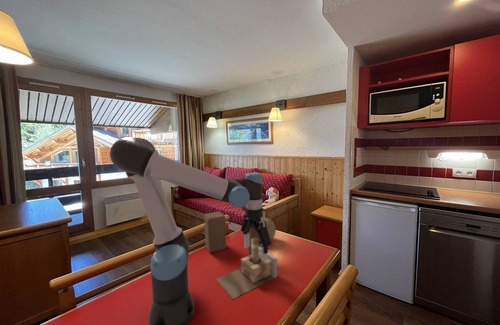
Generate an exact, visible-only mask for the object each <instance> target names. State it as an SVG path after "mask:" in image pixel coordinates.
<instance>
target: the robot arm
mask: <svg viewBox="0 0 500 325" xmlns="http://www.w3.org/2000/svg"><path fill="white" fill-rule="evenodd" d="M109 158H110V160H111V163H112V164H113V166H115V167H116V168H117V169H119V170H121V171H123V172H125V174H126V177H127V178H128V179H130V180H132V181H133V183H134V184H135V187H136V190H137V192H138V194H139V198H140V201H141V203H142V205H143V208H144V210H145V213H146V216H147V218H148V221H149V224H150V227H151V230H152V232H153V233H154V238H153V240H152V243H153V247H154V249H155V252H154V253H153V254H152V256H151V259H150V265H149V268H150V275H151V277H150V278H151V291H152V303H151V306H150V310H149V314H148V325H188V324H189V323H190V322H191V321H192V319H193V317H194V316H195V302H194V299H193V297H192V295H191V293H190V290H189V274H188V272H189V270H188V267H189V266H188V264H189V252H190V242H189V239H188V237H187V236H186V235H185V234H184V231H183V229H182V228H181V227H179V226H177V224H176V220H175V218H174V216H173V213H172V209H171V208H170V207H171V206H170V205H169V202H168V198H167V195H166V193H165V190H164V187H163V185H162V182H161V181H164V182H167V183H170V184H174V185H176V186H180V187H183V188H185V189H189V191H190V190H191V191H194V192H197V193H200V194H201V195H202V194H203V195H205V196H208V197H212V198H213V199H218V200H220V201H223V202H225V203H229V204H230V205H231V206H232V207H234V208H236V209H237V208H238V209H241V208H244V207H245V214H243V220H242V224H241V227H240V231H241V232H242V234H243V247H244V249H247V248H249V247H250V236H249V233H248V232H249V230H250V229H251V227H252V228H254V229H255V231H256V232H257V233H258V236H259V238H260V240H261V243H260V244H262V246H261V260H262V261H264V260H266V259H267V253H269V247H270V246H272V241H271V240H270V237H269V234H268V230H267V227H266V222H262V221H261V218H262V216H263V214H264V212H263V211H264V210H263V209H264V208H263V207H264V206H263V184H264V183H263V177H262V174H261V173H259V172H247V173H245V175H244V178H229V179H227V178H226V179H225V178H223V177H219V176H217V175H215V174H212V173H209V172H208V171H207V172H206V171H203V170H201V169H199V168H196V167H193V166H191V165H187V164H185V163H183V162H180V161H177V160H174V159H172V158H170V157H167V156H163V155H161V154H160V153H159V152H158V150H157V148H155V146H154V145H153V144H152V142H151V141H149V140H148V139H145V138H144V137H143V138H141V137H132V136H131V137H129V136H126V137H122V138H119V139H118V140H116V141H114V143H113V144H112V145H111V148H110V150H109ZM263 217H264V216H263ZM259 227H260V228H259ZM258 228H259V229H258Z"/></svg>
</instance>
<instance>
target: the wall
mask: <svg viewBox="0 0 500 325" xmlns="http://www.w3.org/2000/svg"><path fill="white" fill-rule="evenodd" d="M259 253H260V254H261V247H259ZM267 259H269V260H270V261H271V273H272V275H271V276H273V277H274V279H277V278H278V277H277V275H278V257H276V256H275V255H273V254H271V253H270V252H268V253H267Z"/></svg>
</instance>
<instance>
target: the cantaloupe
mask: <svg viewBox="0 0 500 325" xmlns="http://www.w3.org/2000/svg"><path fill="white" fill-rule="evenodd" d="M261 221H262V222H266V227H267V230H268V234H269V237H270V241H271V240H273V238H275V234H276V225H275V223H274V221H273V220H272V219H270V218H268V217H264V216H262V217H261ZM259 228H260V227H259ZM260 242H261V240H260V238H259V243H260Z"/></svg>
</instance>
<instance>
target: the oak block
mask: <svg viewBox="0 0 500 325" xmlns="http://www.w3.org/2000/svg"><path fill="white" fill-rule="evenodd" d="M240 268H241V272H242V273H243V274H244V275H245V276H246V277H247V278H248V279H249V280H250V281H251V282H252V283H256V282H258V281H260V280H262V279H264V278H266V277H268V276H270V275H272V273H271V261H270V260H269V259H266V260H264V261H262V260H261V254H260V253H259V263H258V264H255V265H254V264H253V263H252V255H249V254H248V255H246V256H244V257H242V258H240Z"/></svg>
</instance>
